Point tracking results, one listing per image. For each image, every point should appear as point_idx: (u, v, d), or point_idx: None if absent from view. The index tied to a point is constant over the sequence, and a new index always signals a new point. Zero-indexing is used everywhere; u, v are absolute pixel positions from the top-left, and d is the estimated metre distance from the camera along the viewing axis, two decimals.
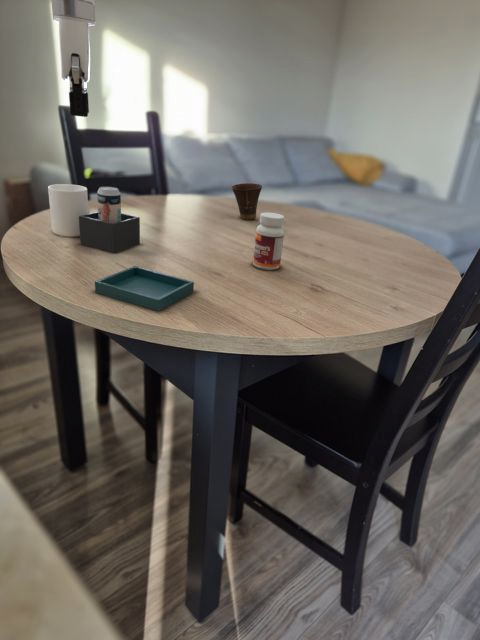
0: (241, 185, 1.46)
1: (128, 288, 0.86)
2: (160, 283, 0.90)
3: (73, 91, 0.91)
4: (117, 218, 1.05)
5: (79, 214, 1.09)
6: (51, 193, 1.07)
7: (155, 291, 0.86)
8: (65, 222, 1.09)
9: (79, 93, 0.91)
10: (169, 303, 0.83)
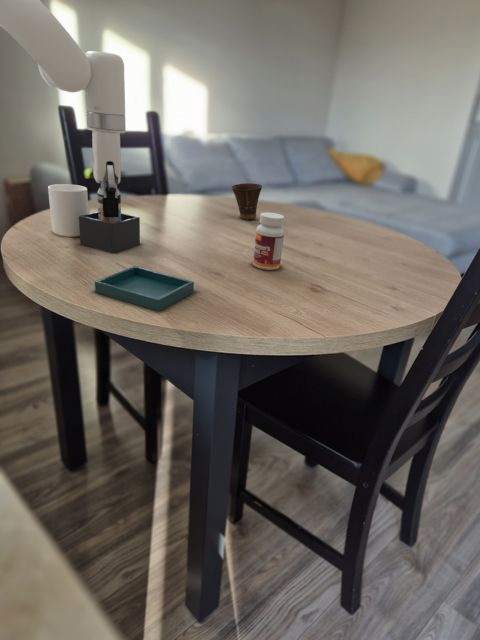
0: (241, 185, 1.46)
1: (128, 288, 0.86)
2: (160, 283, 0.90)
3: (107, 197, 1.01)
4: (117, 218, 1.05)
5: (79, 214, 1.09)
6: (51, 193, 1.07)
7: (155, 291, 0.86)
8: (65, 222, 1.09)
9: (112, 199, 1.01)
10: (169, 303, 0.83)
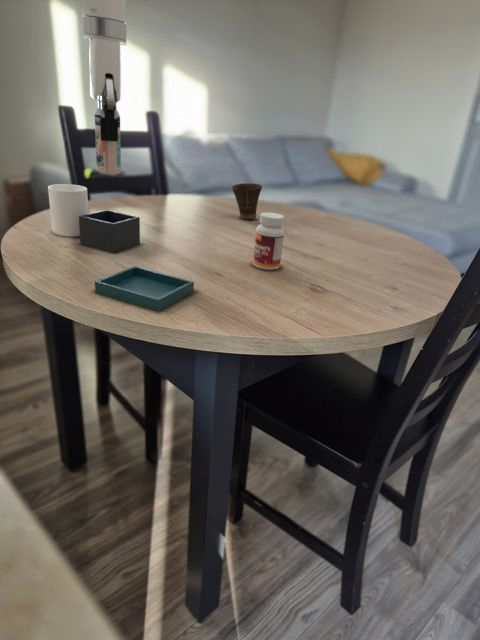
0: (241, 185, 1.46)
1: (128, 288, 0.86)
2: (160, 283, 0.90)
3: (105, 117, 0.92)
4: (116, 144, 0.96)
5: (79, 214, 1.09)
6: (51, 193, 1.07)
7: (155, 291, 0.86)
8: (65, 222, 1.09)
9: (111, 119, 0.92)
10: (169, 303, 0.83)
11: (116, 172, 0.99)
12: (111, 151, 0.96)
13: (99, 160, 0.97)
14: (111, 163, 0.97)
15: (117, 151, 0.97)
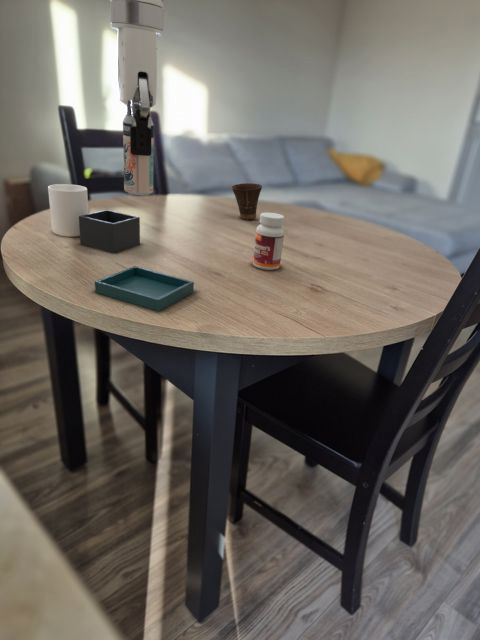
0: (241, 185, 1.46)
1: (128, 288, 0.86)
2: (160, 283, 0.90)
3: (137, 126, 0.74)
4: (149, 158, 0.78)
5: (79, 214, 1.09)
6: (51, 193, 1.07)
7: (155, 291, 0.86)
8: (65, 222, 1.09)
9: (144, 128, 0.74)
10: (169, 303, 0.83)
11: (147, 192, 0.81)
12: (143, 167, 0.78)
13: (128, 178, 0.79)
14: (142, 181, 0.79)
15: (150, 167, 0.79)
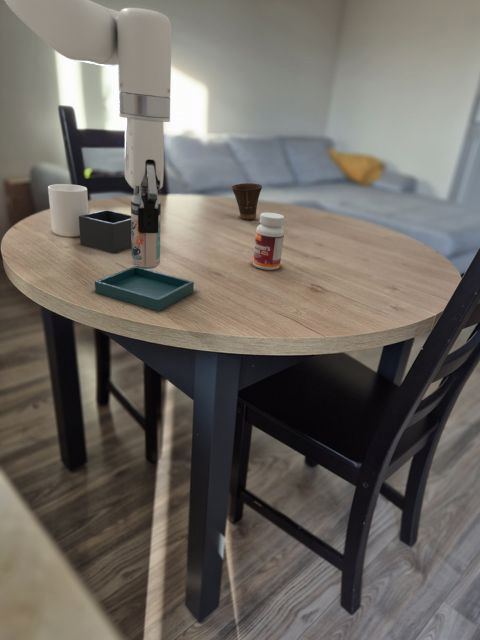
0: (241, 185, 1.46)
1: (128, 288, 0.86)
2: (160, 283, 0.90)
3: (144, 208, 0.76)
4: (156, 234, 0.81)
5: (79, 214, 1.09)
6: (51, 193, 1.07)
7: (155, 291, 0.86)
8: (65, 222, 1.09)
9: (151, 209, 0.77)
10: (169, 303, 0.83)
11: (154, 265, 0.83)
12: (150, 243, 0.81)
13: (135, 253, 0.81)
14: (149, 256, 0.81)
15: (157, 242, 0.81)
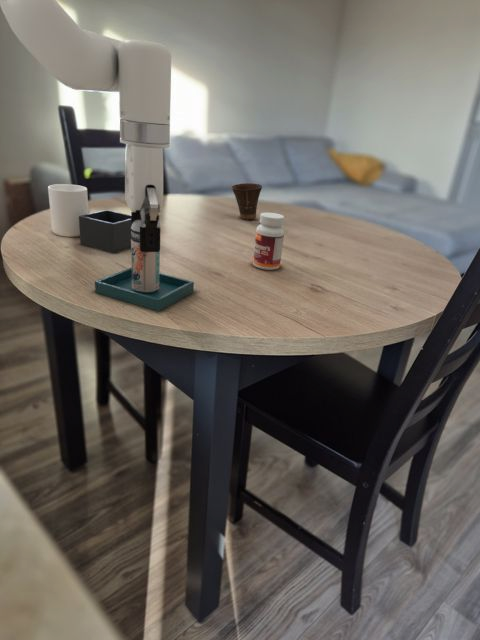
0: (241, 185, 1.46)
1: (128, 288, 0.86)
2: (160, 283, 0.90)
3: (146, 227, 0.75)
4: (155, 260, 0.83)
5: (79, 214, 1.09)
6: (51, 193, 1.07)
7: (155, 291, 0.86)
8: (65, 222, 1.09)
9: (153, 228, 0.76)
10: (169, 303, 0.83)
11: (154, 290, 0.85)
12: (149, 269, 0.83)
13: (135, 278, 0.84)
14: (149, 281, 0.84)
15: (156, 267, 0.84)
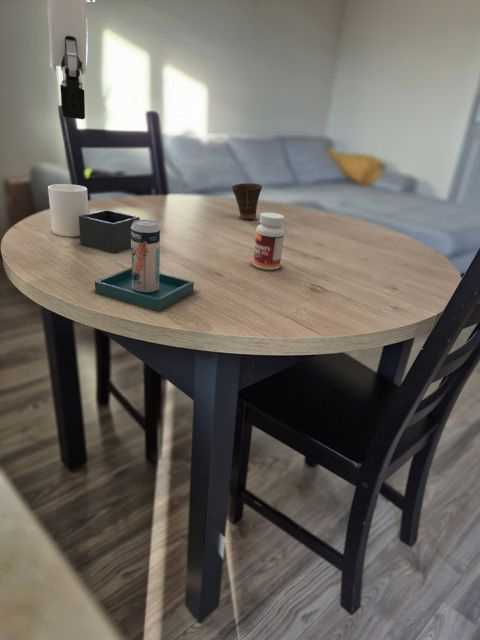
0: (241, 185, 1.46)
1: (128, 288, 0.86)
2: (160, 283, 0.90)
3: (67, 86, 0.70)
4: (155, 260, 0.83)
5: (79, 214, 1.09)
6: (51, 193, 1.07)
7: (155, 291, 0.86)
8: (65, 222, 1.09)
9: (75, 88, 0.70)
10: (169, 303, 0.83)
11: (154, 290, 0.85)
12: (149, 269, 0.83)
13: (135, 278, 0.84)
14: (149, 281, 0.84)
15: (156, 267, 0.84)
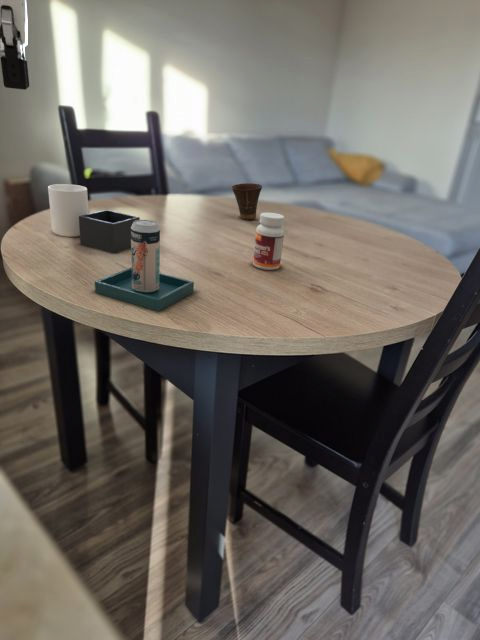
0: (241, 185, 1.46)
1: (128, 288, 0.86)
2: (160, 283, 0.90)
3: (6, 55, 0.71)
4: (155, 260, 0.83)
5: (79, 214, 1.09)
6: (51, 193, 1.07)
7: (155, 291, 0.86)
8: (65, 222, 1.09)
9: (14, 58, 0.71)
10: (169, 303, 0.83)
11: (154, 290, 0.85)
12: (149, 269, 0.83)
13: (135, 278, 0.84)
14: (149, 281, 0.84)
15: (156, 267, 0.84)
